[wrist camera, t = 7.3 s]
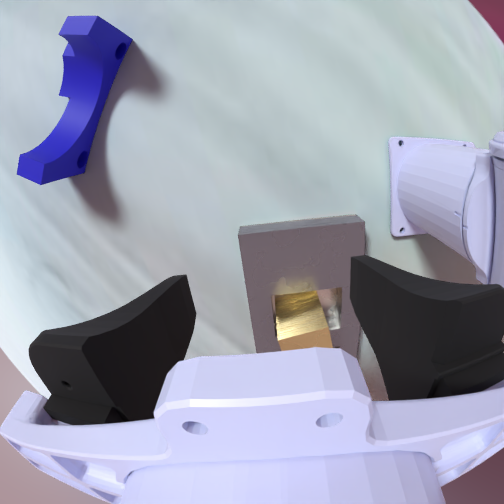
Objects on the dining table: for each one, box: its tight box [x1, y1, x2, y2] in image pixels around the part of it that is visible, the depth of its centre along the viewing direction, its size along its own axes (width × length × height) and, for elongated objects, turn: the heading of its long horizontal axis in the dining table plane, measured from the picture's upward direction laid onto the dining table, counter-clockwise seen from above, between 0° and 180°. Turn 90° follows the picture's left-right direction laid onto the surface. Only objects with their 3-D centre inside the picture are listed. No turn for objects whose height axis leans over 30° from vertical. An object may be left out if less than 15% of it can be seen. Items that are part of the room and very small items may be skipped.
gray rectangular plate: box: [238, 214, 365, 358], centre depth 24 cm, size 9×20×2 cm, turn 7°
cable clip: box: [17, 16, 133, 185], centre depth 15 cm, size 12×4×6 cm, turn 157°
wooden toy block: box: [275, 291, 333, 351], centre depth 22 cm, size 4×8×6 cm, turn 18°
